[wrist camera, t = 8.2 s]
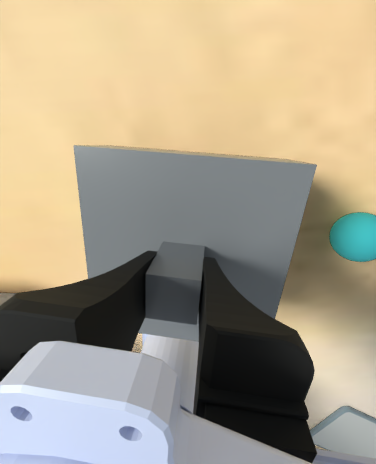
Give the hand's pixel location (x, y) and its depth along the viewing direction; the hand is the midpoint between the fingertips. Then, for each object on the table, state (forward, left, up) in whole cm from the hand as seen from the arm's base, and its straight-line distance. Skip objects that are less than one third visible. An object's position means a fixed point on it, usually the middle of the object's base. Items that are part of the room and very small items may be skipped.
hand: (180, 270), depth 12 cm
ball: (0, -14, -8) cm, 16 cm away
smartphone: (-29, -26, -10) cm, 40 cm away
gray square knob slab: (0, 0, -6) cm, 6 cm away
